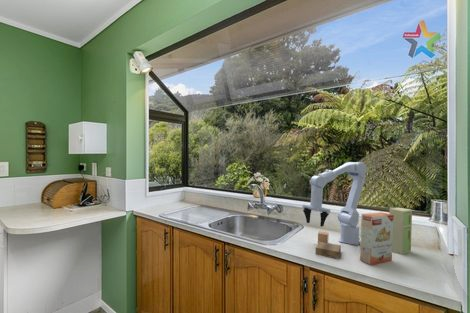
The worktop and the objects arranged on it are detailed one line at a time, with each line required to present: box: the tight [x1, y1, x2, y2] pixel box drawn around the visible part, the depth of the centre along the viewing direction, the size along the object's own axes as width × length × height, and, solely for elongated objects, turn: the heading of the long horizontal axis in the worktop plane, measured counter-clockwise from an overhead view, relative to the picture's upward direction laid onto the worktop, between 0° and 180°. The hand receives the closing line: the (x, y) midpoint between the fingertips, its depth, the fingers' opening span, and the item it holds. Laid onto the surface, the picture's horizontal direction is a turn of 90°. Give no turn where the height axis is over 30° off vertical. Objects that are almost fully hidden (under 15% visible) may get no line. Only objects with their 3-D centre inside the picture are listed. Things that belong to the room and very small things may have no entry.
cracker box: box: [359, 211, 394, 266], centre depth 107 cm, size 14×6×21 cm, turn 114°
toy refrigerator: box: [388, 207, 413, 255], centre depth 119 cm, size 8×7×21 cm
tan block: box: [317, 230, 329, 244], centre depth 126 cm, size 5×5×6 cm
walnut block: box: [315, 241, 342, 259], centre depth 115 cm, size 10×10×3 cm
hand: (314, 224), depth 126 cm, fingers open, 7 cm apart
